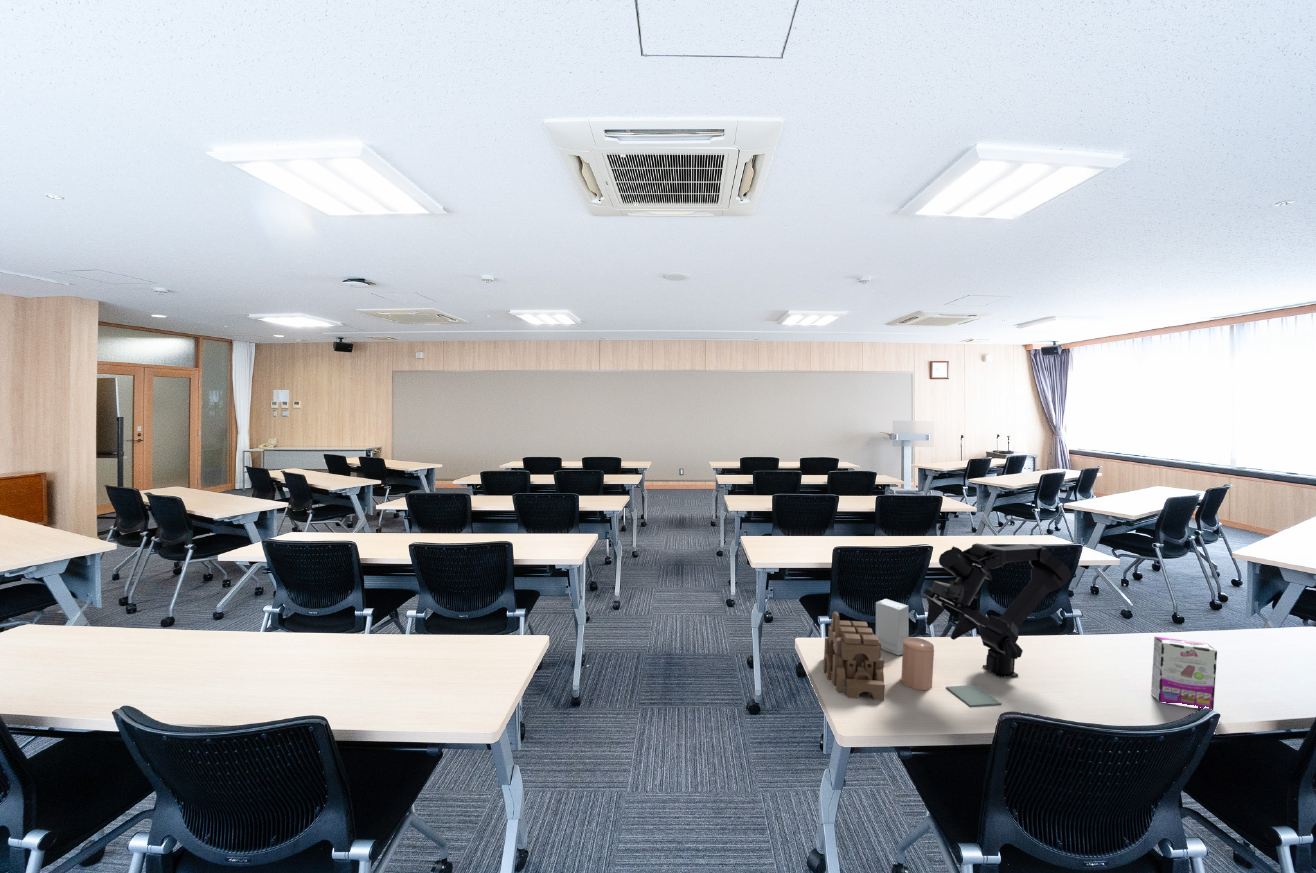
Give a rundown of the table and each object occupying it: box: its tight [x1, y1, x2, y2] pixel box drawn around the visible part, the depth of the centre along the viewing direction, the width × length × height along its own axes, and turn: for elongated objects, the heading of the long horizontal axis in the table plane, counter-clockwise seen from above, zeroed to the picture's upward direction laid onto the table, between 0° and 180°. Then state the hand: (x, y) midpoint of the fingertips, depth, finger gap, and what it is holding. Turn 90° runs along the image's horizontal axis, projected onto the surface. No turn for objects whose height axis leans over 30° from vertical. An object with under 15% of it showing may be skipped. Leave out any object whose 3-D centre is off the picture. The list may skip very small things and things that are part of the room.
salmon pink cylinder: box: [900, 636, 935, 691], centre depth 146 cm, size 8×8×11 cm
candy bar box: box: [1150, 636, 1218, 711], centre depth 139 cm, size 11×5×16 cm, turn 68°
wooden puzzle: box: [823, 611, 886, 701], centre depth 148 cm, size 22×15×19 cm, turn 175°
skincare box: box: [875, 598, 910, 656], centre depth 166 cm, size 8×6×15 cm
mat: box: [945, 684, 1002, 708], centre depth 140 cm, size 9×9×1 cm
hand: (939, 631), depth 148 cm, fingers open, 9 cm apart
